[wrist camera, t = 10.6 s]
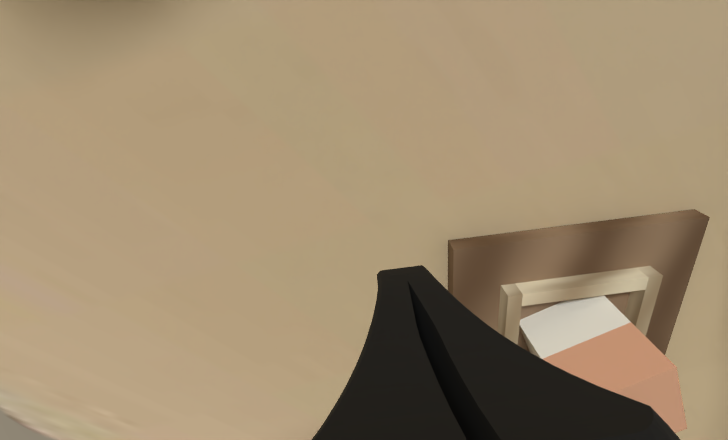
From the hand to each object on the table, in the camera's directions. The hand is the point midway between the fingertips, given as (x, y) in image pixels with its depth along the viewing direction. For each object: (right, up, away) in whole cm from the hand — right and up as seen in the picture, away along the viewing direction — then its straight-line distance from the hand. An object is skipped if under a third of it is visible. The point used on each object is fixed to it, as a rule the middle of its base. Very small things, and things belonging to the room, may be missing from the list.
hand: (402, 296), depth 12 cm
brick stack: (+11, -5, +13) cm, 17 cm away
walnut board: (+11, -4, +14) cm, 18 cm away
